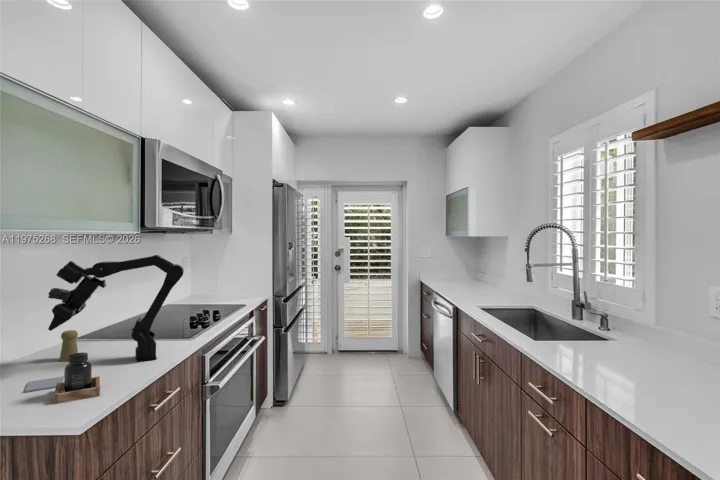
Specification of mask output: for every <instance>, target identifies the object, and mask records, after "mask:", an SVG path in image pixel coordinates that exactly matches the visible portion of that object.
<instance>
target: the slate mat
mask: <svg viewBox="0 0 720 480" xmlns="http://www.w3.org/2000/svg"><path fill="white" fill-rule="evenodd" d="M59 382H64V376H58V377H51V378H43V379H38V380H37V379H36V380H30V381H28V382H27V385H26V387H25V389H24V393H32V392H37V391H38V392H39V391H44V390H49V389H51V390H52V389H56V385H57V383H59Z"/></svg>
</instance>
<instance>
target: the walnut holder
mask: <svg viewBox="0 0 720 480" xmlns="http://www.w3.org/2000/svg"><path fill="white" fill-rule="evenodd" d="M100 378H101V377H100V376H98V375H97V376H93V377H92V388H88V389H82V390H76V391H70V392H64V381H63V382H59V383H57V385H56V388H54V393H53V405H55V404H61V403H68V402H71V401H78V400H85V399H89V398H95V397H100V396H101V395H100V393H101V381H100ZM94 386H95V387H94Z"/></svg>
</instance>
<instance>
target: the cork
mask: <svg viewBox="0 0 720 480" xmlns="http://www.w3.org/2000/svg"><path fill="white" fill-rule="evenodd" d="M78 335H79V333H78V331H77V330H75V329H74V330H73V329H70V330H65V331H63V332H62V333H61V335H60V338H61V340H62V343H61V350H60V356H59V362H63V363H64V362H68V360H69V355H71V354H75V353H79V350H78V344H77V343H78V342H77V338H78Z"/></svg>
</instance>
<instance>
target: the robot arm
mask: <svg viewBox="0 0 720 480" xmlns="http://www.w3.org/2000/svg"><path fill="white" fill-rule="evenodd" d="M151 266H154V267H157V268H158V269H159V270H161V271H163V272H164V273H165V277H164V281H163V284H162V285H161V287H160V289H159V291H158V292H157V294H156V296H155V298H154V300H153V301H152V303H151V305H150V307H149V309H148V310H147V312H146V313H145V315H144V316H143V317H142V318H141V317H138V318H137V319H136V322H135V324H134V325H133V327H132V328H131V329H130V330H131V338H132V339H133V340H134V341H135V342H136V343H137V344H136V346H135V359H136V361H137V362H148V361H153V360H154V361H155V360H157V359H158V357H157V342H156V341H155V340H156V336H157V334H156V333H154V331H152V327H153V325H154V321H155V319H156V317H157V315H158V313H159V311H160V310H161V308H162V307H163V304H164V303H165V301H166V299H167V297H168V295H169V294H170V292H171V290H172V289H173V288H174V287H175V285H177V283H178V282H179V281H180V279H182V278H183V275H184V271H185V270H184V267H183V266H182V265H180V264H178V263H175V264H174V263H172V262H171V261H169V260H168V259H165V258H163V257H162V256H161V255H159V254H154V255H152V256H146V257H140V258H134V259H128V260H122V261H117V260H116V261H111V260H110V261H108V260H107V261H100V262H96V263H95V264H93V266H91V267H86V268H83V267H82V266H81V265H78V264H77V263H75V262H74V261H73V260H70V261H68V262H67V263H66V264H65V265H64V266H62V268H60V269H59V271H58V272H57V273H56V276H57V277H58V278H59V279H61V280H63V281H66V282H67V283H68V284H70V285H73V284H78V285H76V287H75V288H73V289H71V290H68V289H64V288H58V287H53V288H51V289H50V291H49V292H48V295H47V296H48V297H47V298H48V299H51V300H52V299H55V300H58V301H59V300H60V301H61V303H57V304H55V305H54V307H52V309H51V312H52V314H53V318H52V319H51V321H50V323H49V326H48V328H47V329H48V331H51V332H52V331H53V330H54V329H56V328H58V327H60V326H62V325H63V324H65V323H67V322H68V321H70V320H71V319H72V318H73V317H75V316H76V315H78V314H80V313H81V312H82V311H83V310H84V309H85V308H86V307H87V303H86V302H87V301H88V300H90V299H91V298H92V297H91V296H92V295H93V294H94V293H95V292H96V290H97V289H98V288H99V287H100V288H103V289H104V288H106V287H107V283H106V279H103V278H106V277H109V276H111V275H114V274H118V273H121V272H124V271H130V270H135V269H141V268H146V267H151ZM92 276H93V277H92ZM101 279H103V280H101Z"/></svg>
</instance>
